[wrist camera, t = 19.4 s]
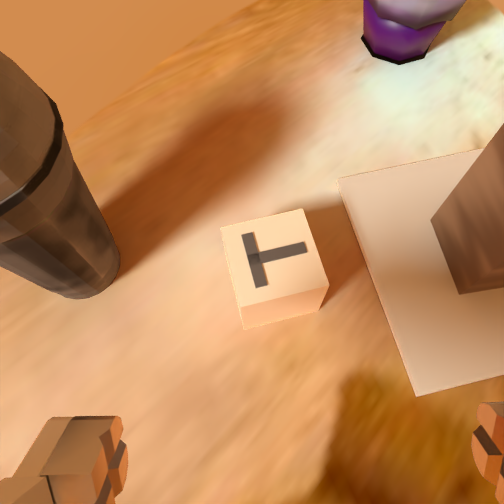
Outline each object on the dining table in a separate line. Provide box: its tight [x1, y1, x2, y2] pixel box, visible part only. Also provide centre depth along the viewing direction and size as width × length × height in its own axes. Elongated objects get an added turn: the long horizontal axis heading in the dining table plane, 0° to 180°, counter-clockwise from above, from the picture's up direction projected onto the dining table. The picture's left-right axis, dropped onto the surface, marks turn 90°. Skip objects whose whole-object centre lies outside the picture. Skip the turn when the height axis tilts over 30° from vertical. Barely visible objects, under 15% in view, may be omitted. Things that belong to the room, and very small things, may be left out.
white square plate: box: [336, 148, 504, 397], centre depth 26 cm, size 14×14×1 cm
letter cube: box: [220, 208, 329, 330], centre depth 23 cm, size 4×4×5 cm
